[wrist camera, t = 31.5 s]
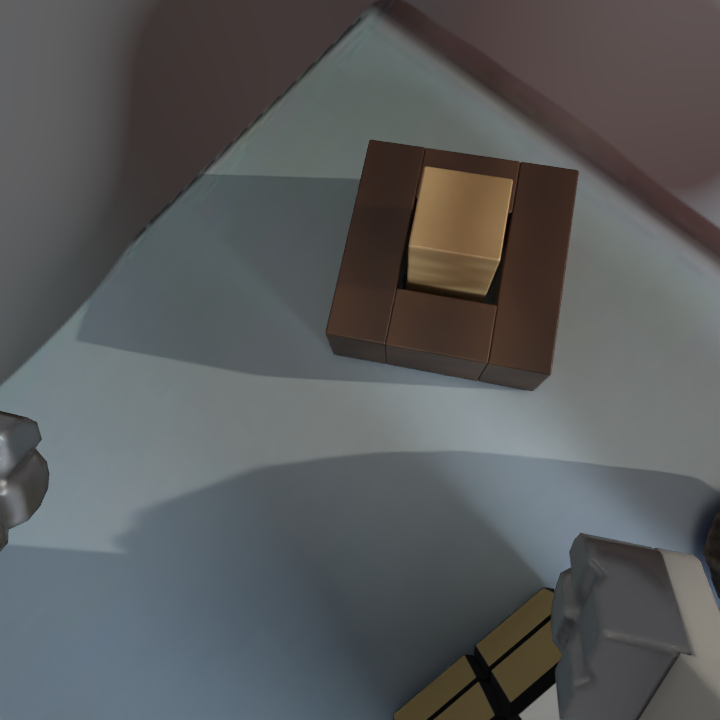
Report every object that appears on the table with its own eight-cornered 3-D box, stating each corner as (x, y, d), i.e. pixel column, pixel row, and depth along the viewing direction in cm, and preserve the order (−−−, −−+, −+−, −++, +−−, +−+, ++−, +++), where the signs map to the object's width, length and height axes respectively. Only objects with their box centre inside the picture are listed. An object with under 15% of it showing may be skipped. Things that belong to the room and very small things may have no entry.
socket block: (333, 354, 34) (324, 333, 30) (372, 178, 36) (369, 138, 33) (533, 391, 33) (551, 375, 29) (559, 207, 35) (579, 169, 31)
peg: (405, 306, 34) (408, 246, 27) (418, 241, 35) (424, 165, 27) (476, 318, 34) (500, 261, 26) (487, 252, 35) (513, 178, 27)
